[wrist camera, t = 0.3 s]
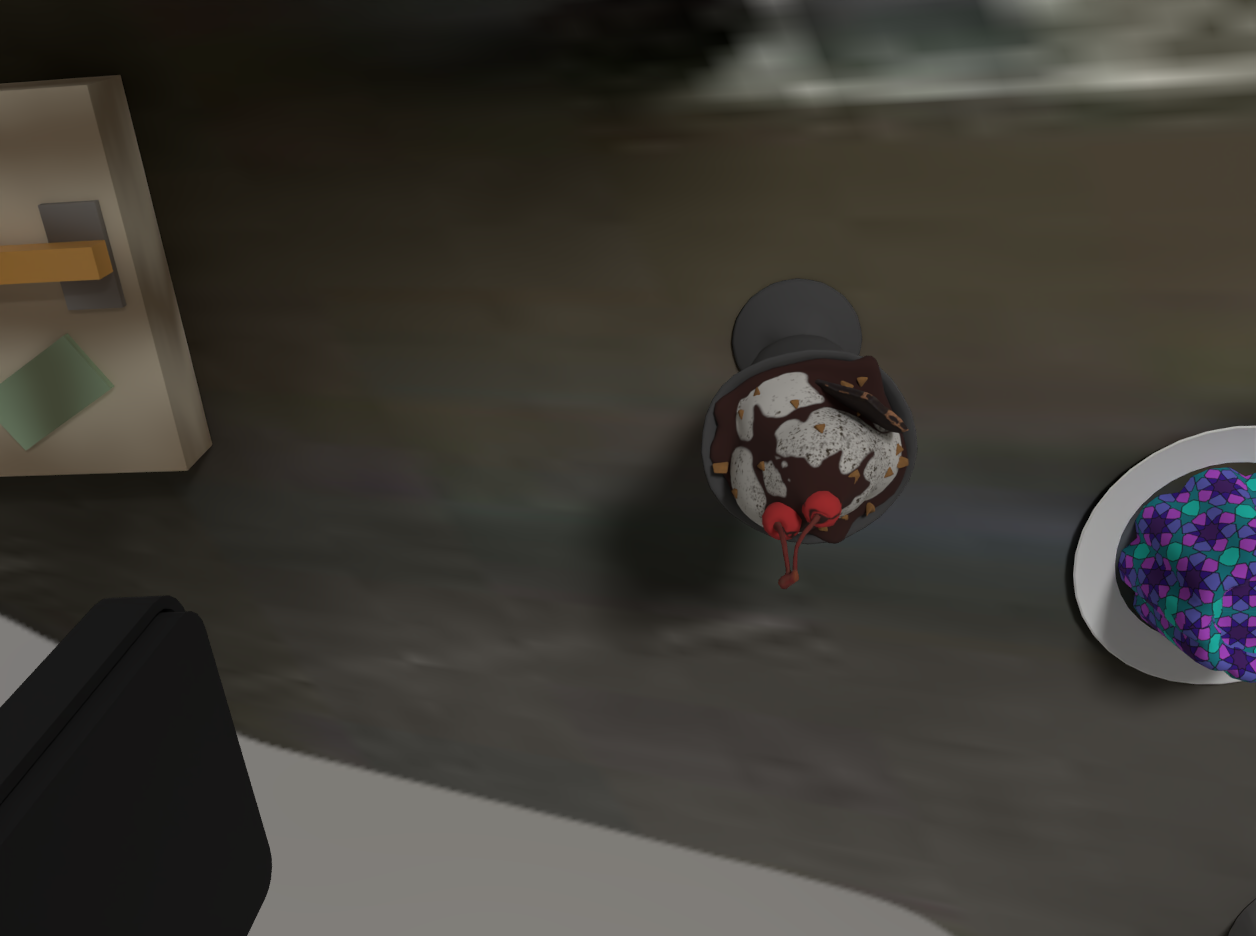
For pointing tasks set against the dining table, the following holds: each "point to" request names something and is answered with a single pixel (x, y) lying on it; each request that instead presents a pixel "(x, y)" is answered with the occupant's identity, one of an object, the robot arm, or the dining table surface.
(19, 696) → the robot arm
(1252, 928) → the coffee mug
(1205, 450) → the plate of grapes
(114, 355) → the dial board
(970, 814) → the dining table surface
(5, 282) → the latch
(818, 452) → the sundae
